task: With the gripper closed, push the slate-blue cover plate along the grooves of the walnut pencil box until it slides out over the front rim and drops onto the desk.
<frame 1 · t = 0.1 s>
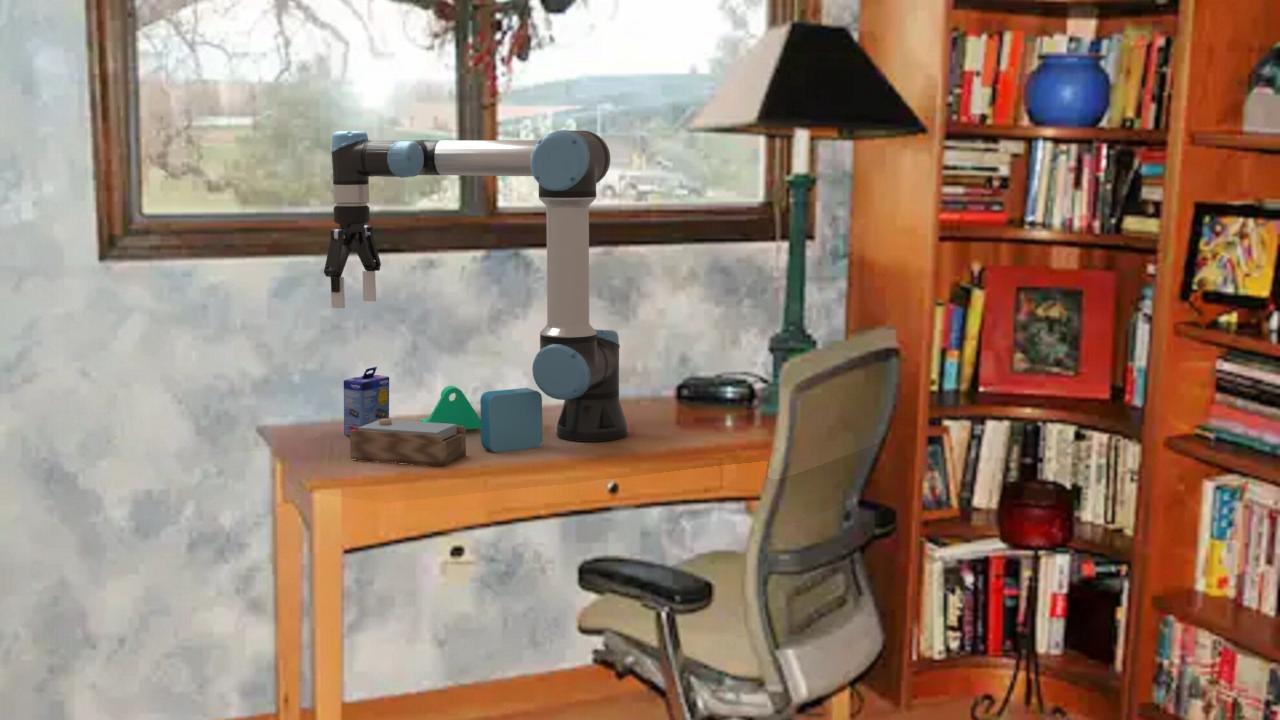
hand: (354, 304, 329), 28 cm above the table, tool pointing down, fingers open, 13 cm apart
cover plate: (408, 435, 307), point 4 cm above the table, touching pencil box
camera mount: (450, 432, 335), on the table
pencil box: (408, 457, 307), on the table
data package: (511, 449, 317), on the table
ink cartridge box: (367, 434, 332), on the table
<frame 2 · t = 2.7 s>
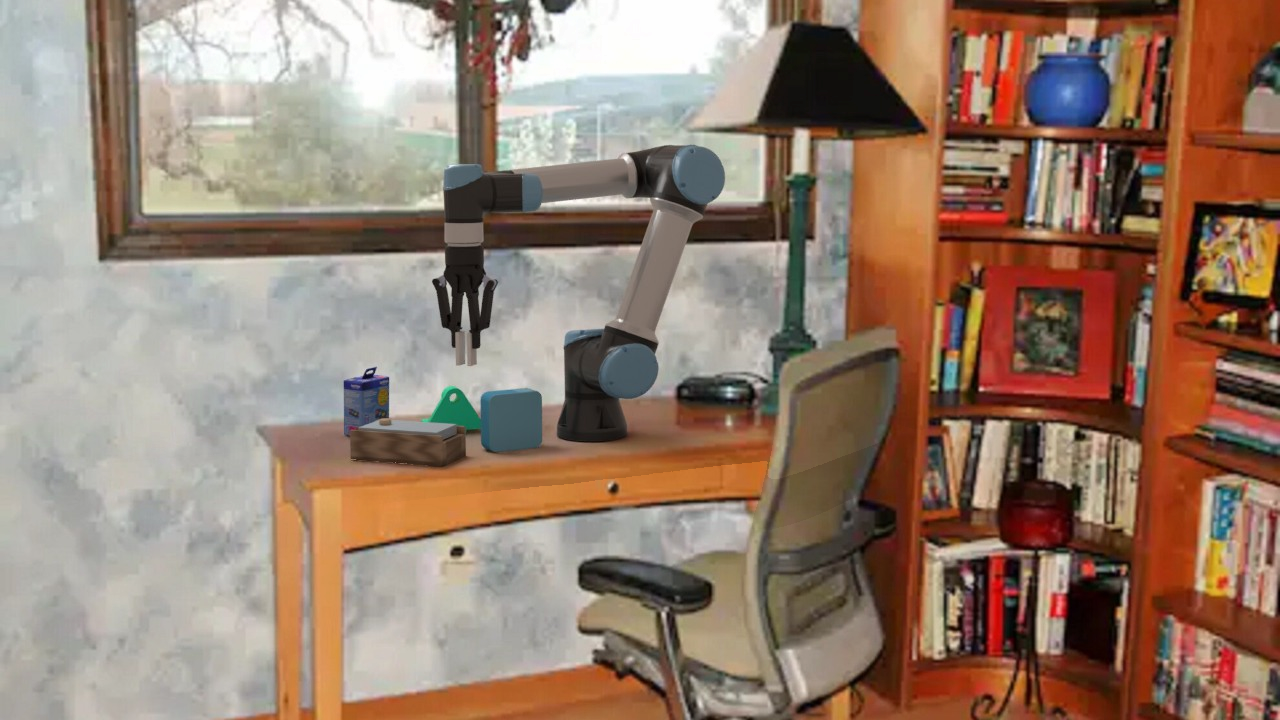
hand: (466, 364, 300), 19 cm above the table, tool pointing down, fingers closed
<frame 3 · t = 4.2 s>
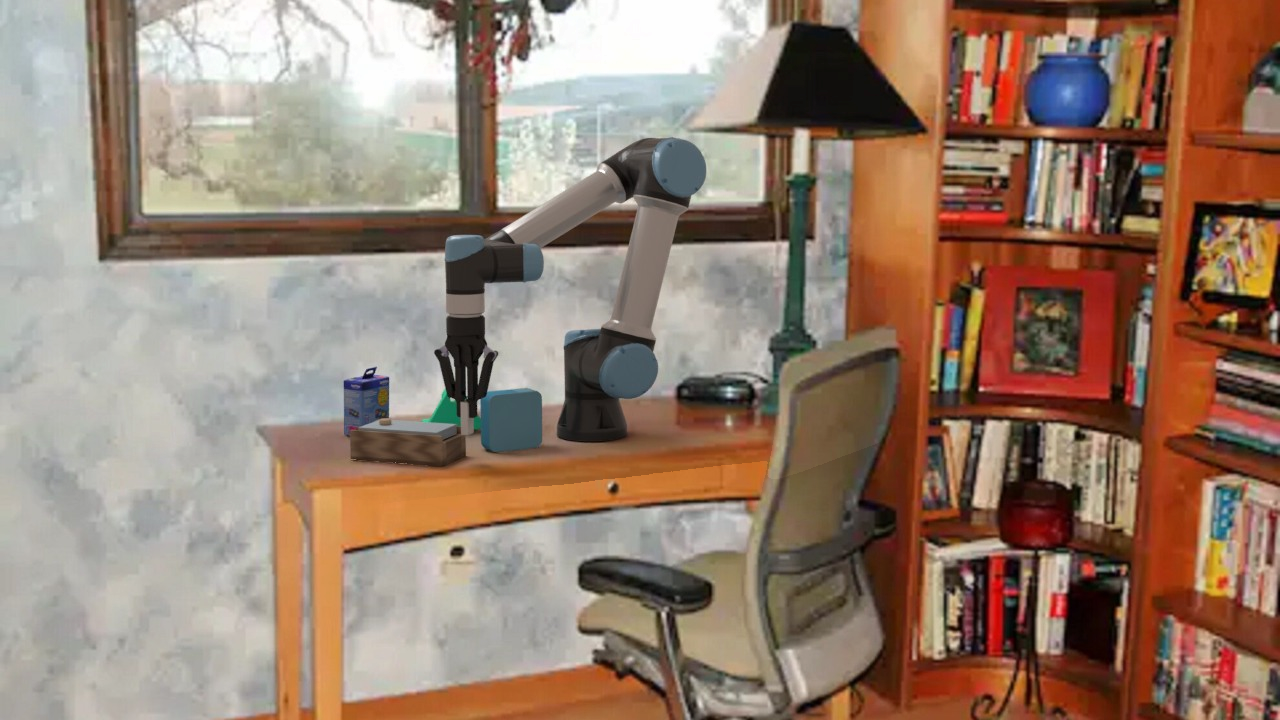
hand: (467, 433, 303), 6 cm above the table, tool pointing down, fingers closed
nothing on the table moved.
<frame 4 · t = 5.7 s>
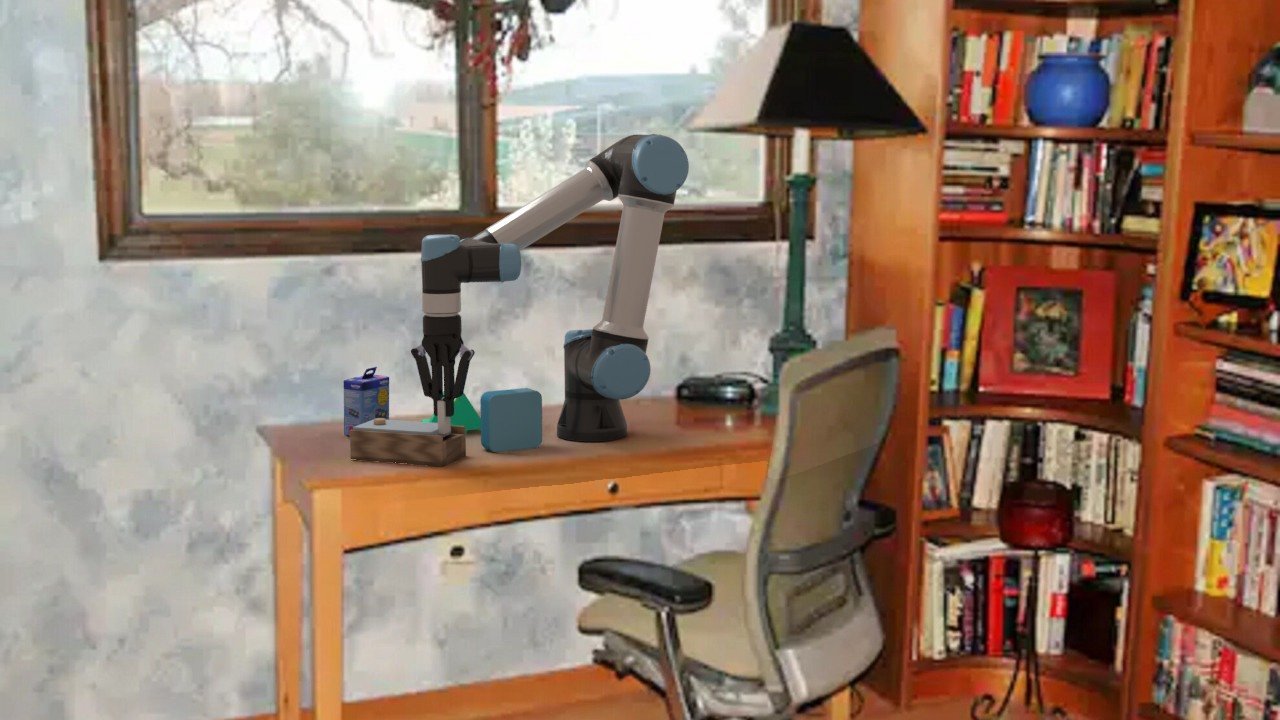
hand: (444, 432, 304), 6 cm above the table, tool pointing down, fingers closed
cover plate: (402, 435, 307), point 5 cm above the table, touching gripper
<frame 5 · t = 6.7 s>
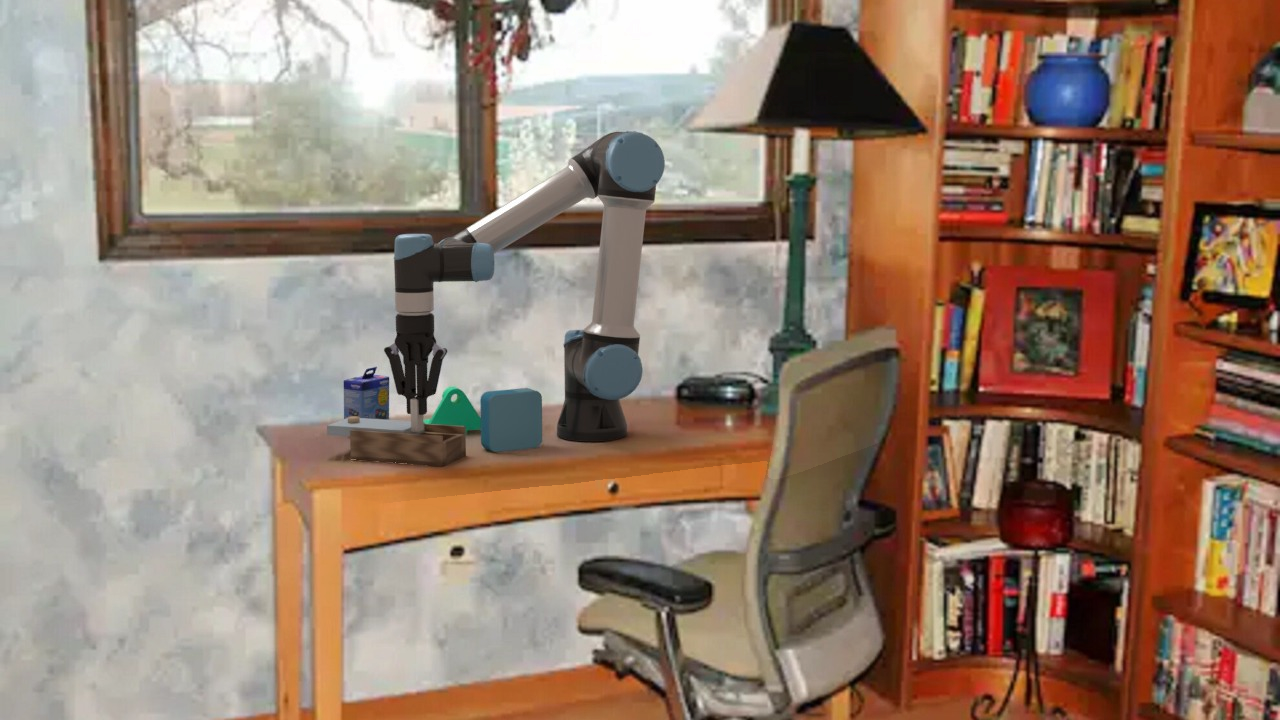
hand: (417, 430, 306), 6 cm above the table, tool pointing down, fingers closed
cover plate: (376, 433, 309), point 5 cm above the table, touching gripper
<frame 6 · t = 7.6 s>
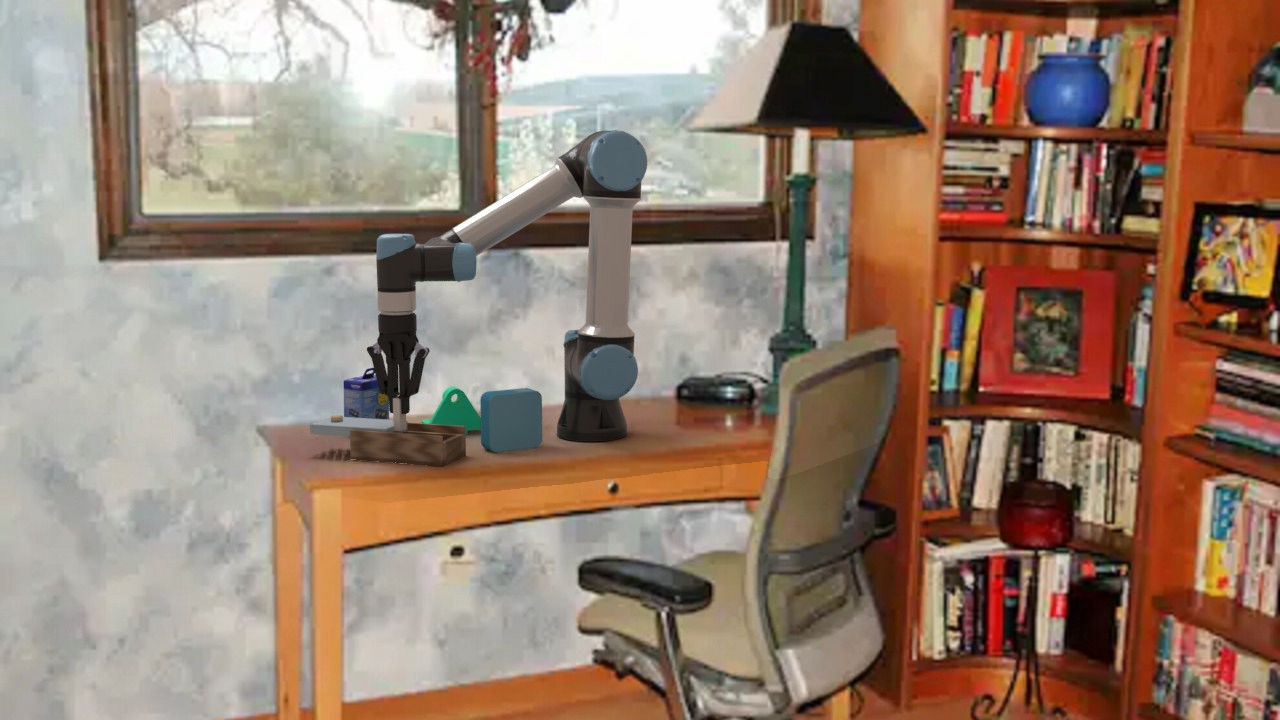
hand: (400, 429, 307), 6 cm above the table, tool pointing down, fingers closed
cover plate: (359, 432, 310), point 4 cm above the table, touching gripper
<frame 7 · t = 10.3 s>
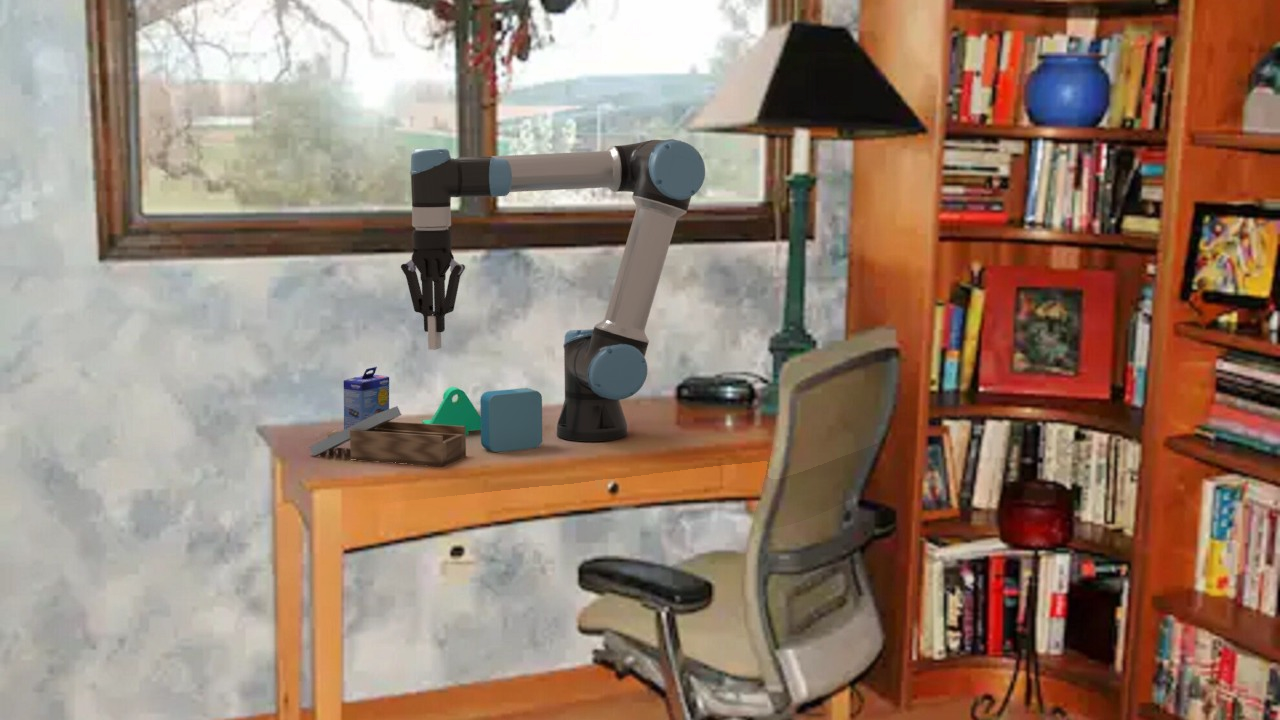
hand: (434, 348, 303), 22 cm above the table, tool pointing down, fingers closed
cover plate: (357, 435, 310), point 4 cm above the table, tilted 27°, touching pencil box
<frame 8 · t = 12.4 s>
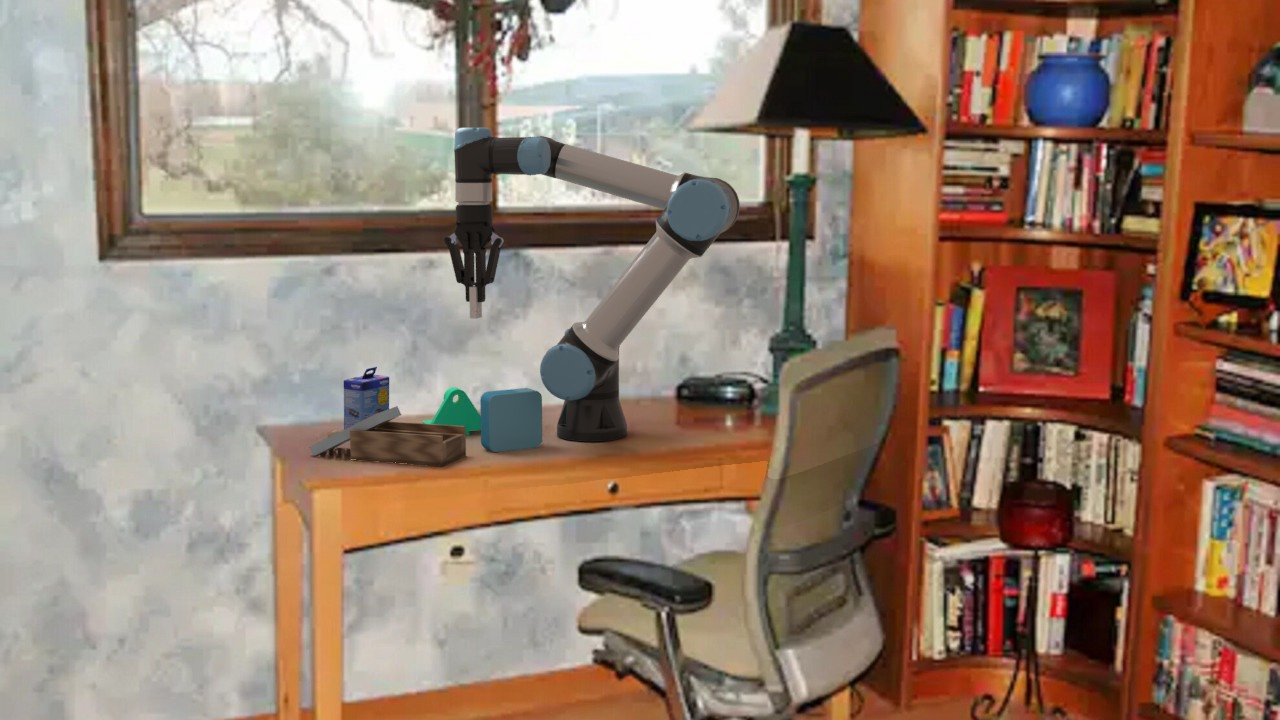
hand: (475, 317, 318), 26 cm above the table, tool pointing down, fingers closed
at the end: cover plate inside the target area (10.2 cm from its centre), point 3.8 cm above the table; cover plate moved 11.3 cm from its start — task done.
